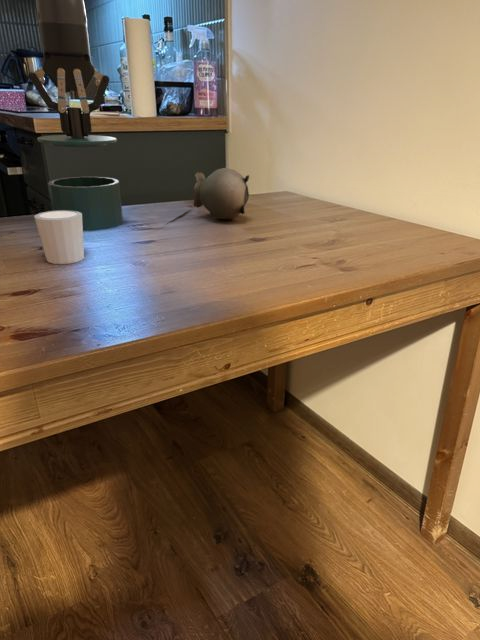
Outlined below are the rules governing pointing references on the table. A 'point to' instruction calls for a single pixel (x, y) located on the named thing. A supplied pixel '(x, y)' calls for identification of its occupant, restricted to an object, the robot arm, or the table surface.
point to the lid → (76, 134)
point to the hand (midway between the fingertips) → (77, 135)
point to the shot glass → (61, 236)
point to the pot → (89, 200)
